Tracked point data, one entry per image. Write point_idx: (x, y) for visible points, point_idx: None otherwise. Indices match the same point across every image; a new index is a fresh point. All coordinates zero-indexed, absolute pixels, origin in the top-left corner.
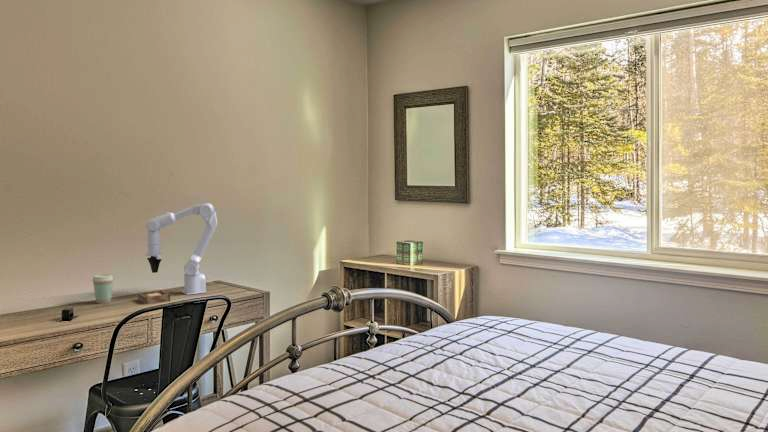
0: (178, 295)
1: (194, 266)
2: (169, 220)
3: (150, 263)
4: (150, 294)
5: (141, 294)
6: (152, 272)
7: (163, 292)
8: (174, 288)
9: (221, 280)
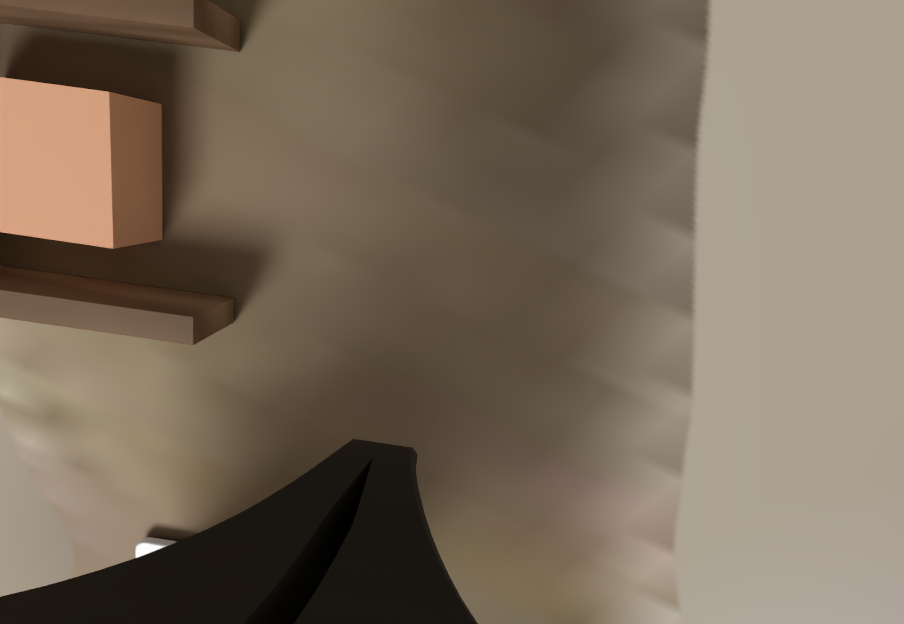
0: (194, 472)
1: None
2: None
3: (330, 569)
4: (62, 127)
5: (76, 1)
6: (400, 446)
7: (50, 297)
8: (574, 615)
9: None
